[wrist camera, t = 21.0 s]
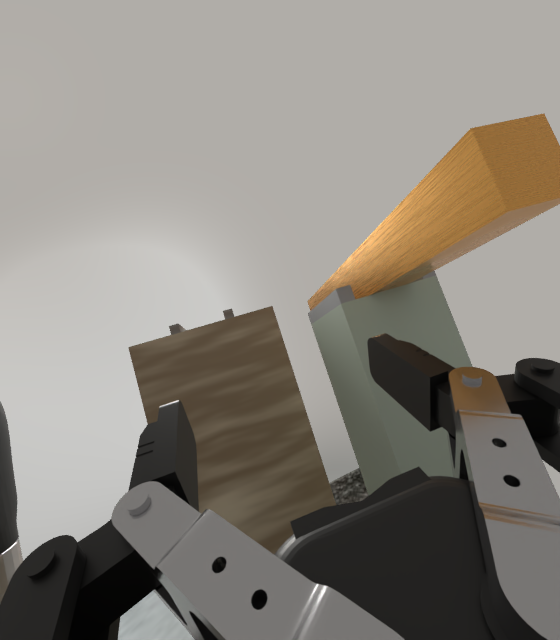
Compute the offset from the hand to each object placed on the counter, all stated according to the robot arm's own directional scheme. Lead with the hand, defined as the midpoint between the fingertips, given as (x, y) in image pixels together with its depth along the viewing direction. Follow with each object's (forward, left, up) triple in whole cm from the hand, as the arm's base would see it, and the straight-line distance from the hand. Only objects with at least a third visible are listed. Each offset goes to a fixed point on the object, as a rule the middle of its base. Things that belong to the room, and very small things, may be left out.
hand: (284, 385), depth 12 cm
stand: (-24, +15, -25) cm, 38 cm away
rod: (0, +12, +3) cm, 12 cm away
